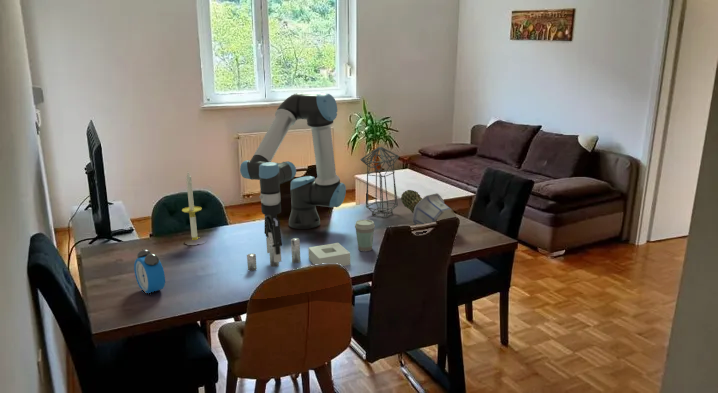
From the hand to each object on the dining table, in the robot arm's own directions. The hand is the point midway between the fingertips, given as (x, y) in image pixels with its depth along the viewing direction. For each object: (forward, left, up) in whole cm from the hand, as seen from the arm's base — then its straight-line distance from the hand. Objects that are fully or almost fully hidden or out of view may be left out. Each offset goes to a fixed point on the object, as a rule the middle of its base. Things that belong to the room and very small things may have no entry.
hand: (274, 256), depth 223 cm
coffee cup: (-1, +40, -4) cm, 40 cm away
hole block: (+6, +21, -4) cm, 22 cm away
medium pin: (0, +9, -4) cm, 10 cm away
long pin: (0, 0, -4) cm, 4 cm away
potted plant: (-14, +77, -4) cm, 78 cm away
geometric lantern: (-42, +67, -4) cm, 79 cm away
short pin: (0, -9, -4) cm, 10 cm away
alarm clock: (+4, -47, -4) cm, 47 cm away
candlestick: (-42, -25, -4) cm, 49 cm away
